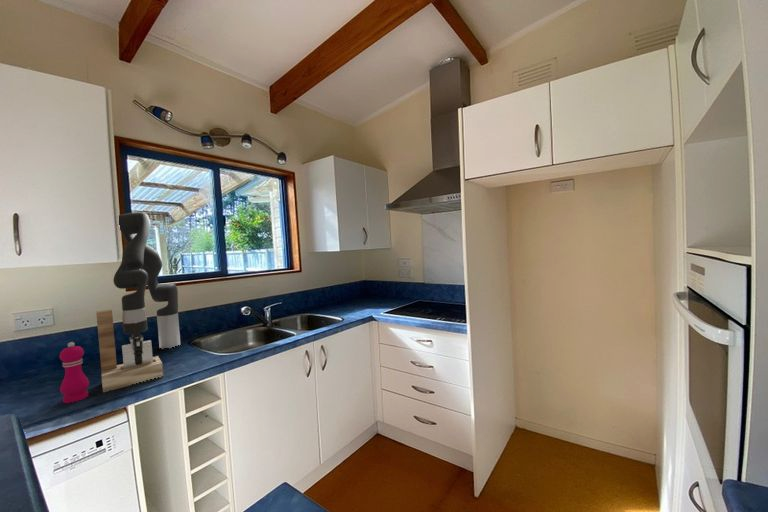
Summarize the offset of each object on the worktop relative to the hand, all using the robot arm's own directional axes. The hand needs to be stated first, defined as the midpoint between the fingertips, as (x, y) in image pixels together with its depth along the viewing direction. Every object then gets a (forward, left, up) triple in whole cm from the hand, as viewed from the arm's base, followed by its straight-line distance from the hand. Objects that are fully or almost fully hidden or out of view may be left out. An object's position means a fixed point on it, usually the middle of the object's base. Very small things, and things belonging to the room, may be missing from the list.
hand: (138, 362), depth 125 cm
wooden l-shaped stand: (0, -2, -6) cm, 6 cm away
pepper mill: (+5, -18, -6) cm, 20 cm away
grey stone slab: (0, 0, -4) cm, 4 cm away
